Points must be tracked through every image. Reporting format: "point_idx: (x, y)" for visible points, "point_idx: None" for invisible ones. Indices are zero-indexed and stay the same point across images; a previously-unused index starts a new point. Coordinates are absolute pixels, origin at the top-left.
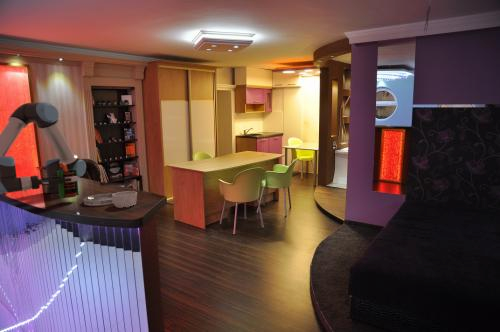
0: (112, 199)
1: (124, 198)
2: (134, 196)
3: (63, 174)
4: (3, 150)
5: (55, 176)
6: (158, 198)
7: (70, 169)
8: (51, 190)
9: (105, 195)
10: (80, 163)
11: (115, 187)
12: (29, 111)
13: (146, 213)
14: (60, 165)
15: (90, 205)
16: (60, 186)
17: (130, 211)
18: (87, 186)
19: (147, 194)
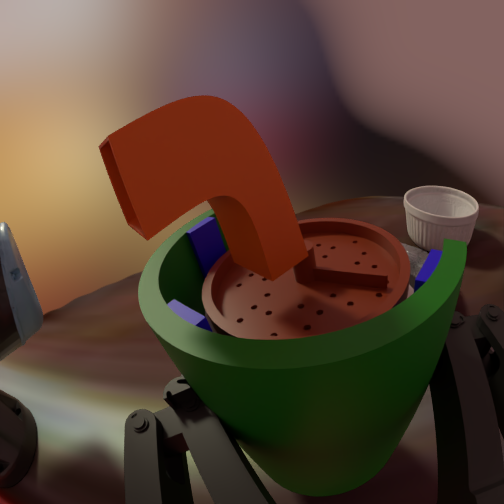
0: (419, 249)
1: (472, 205)
2: (449, 194)
3: (407, 294)
4: None
5: (156, 479)
6: (367, 200)
7: (178, 232)
8: (6, 471)
9: None
10: (12, 241)
11: (117, 288)
12: None
13: (499, 206)
14: (149, 182)
15: None
16: (399, 438)
17: (494, 224)
18: (26, 352)
19: (303, 218)
